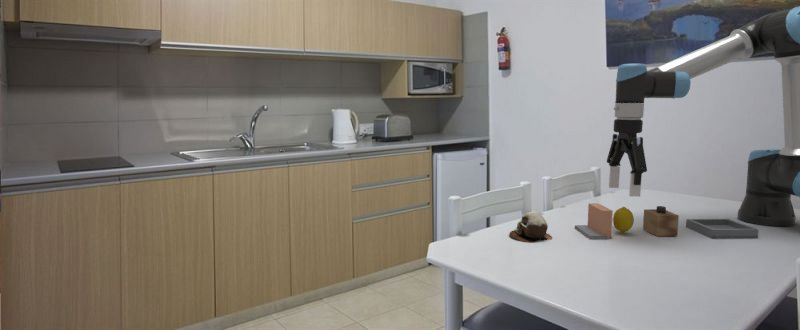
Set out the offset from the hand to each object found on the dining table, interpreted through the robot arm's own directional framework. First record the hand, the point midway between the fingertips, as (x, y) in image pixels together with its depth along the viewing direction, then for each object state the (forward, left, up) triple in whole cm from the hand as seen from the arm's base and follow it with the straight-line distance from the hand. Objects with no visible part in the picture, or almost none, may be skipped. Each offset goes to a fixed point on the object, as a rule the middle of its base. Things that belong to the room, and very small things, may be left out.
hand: (623, 191), depth 148 cm
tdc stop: (+8, 0, -12) cm, 15 cm away
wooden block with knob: (-11, 0, -12) cm, 17 cm away
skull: (+28, +3, -13) cm, 31 cm away
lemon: (0, 0, -13) cm, 13 cm away
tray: (-29, 0, -12) cm, 32 cm away
